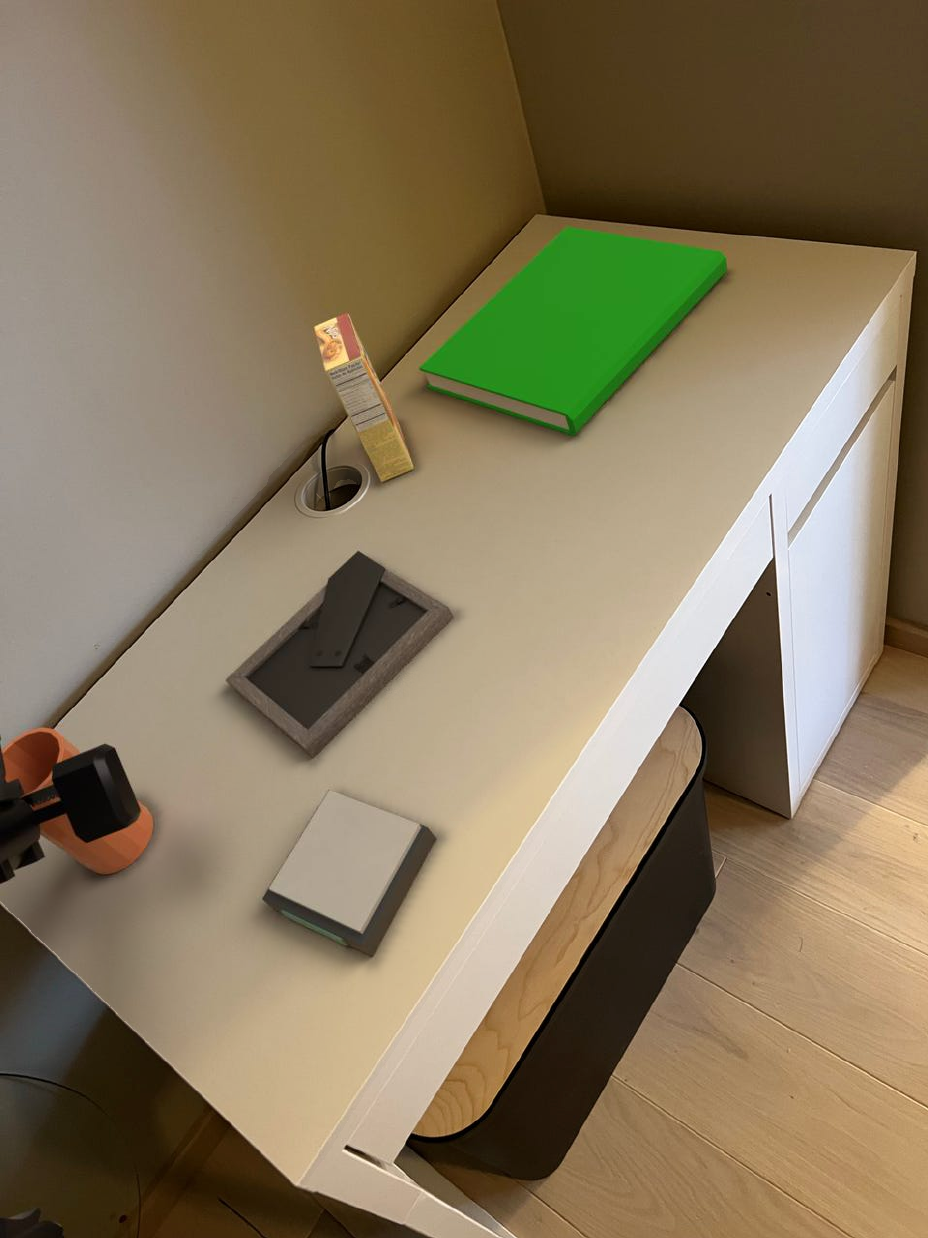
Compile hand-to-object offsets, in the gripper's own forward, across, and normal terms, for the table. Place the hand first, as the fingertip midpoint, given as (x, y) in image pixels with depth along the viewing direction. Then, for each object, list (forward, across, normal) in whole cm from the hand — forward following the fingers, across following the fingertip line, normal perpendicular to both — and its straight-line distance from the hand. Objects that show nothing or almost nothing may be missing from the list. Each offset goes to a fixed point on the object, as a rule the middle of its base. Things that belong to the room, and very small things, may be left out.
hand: (62, 798), depth 79 cm
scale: (-2, -21, +14) cm, 25 cm away
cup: (+6, 0, +6) cm, 8 cm away
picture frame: (+14, -23, -2) cm, 27 cm away
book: (+37, -57, -25) cm, 73 cm away
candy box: (+32, -33, -20) cm, 50 cm away
